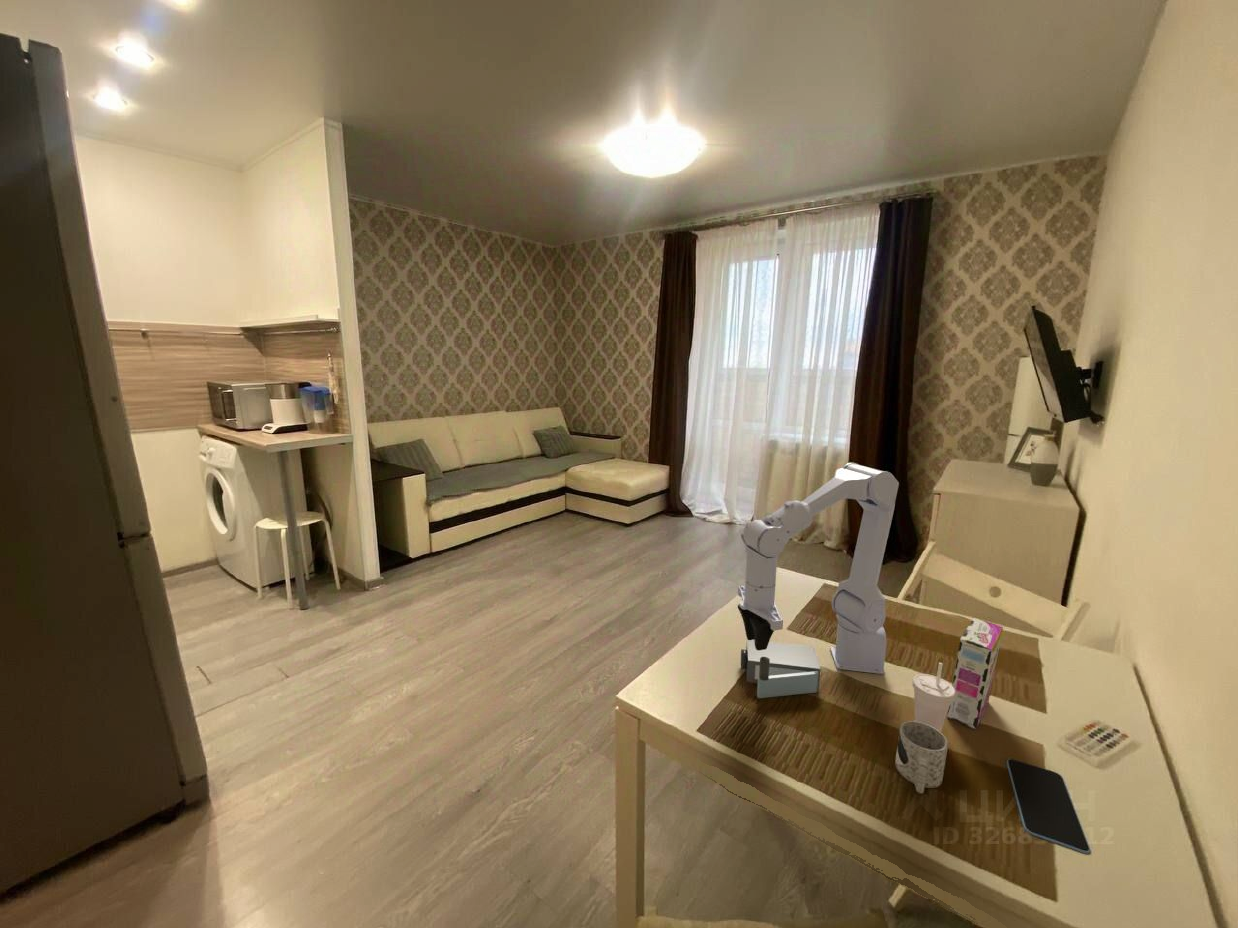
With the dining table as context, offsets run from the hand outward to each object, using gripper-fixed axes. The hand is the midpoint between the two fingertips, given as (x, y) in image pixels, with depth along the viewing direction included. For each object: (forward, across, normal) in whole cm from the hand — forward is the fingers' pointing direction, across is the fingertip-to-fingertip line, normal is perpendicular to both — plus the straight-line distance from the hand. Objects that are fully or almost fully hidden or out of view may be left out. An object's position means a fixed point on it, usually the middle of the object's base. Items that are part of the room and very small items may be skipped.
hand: (756, 643), depth 100 cm
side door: (+9, +4, +5) cm, 11 cm away
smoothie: (+10, +19, +24) cm, 32 cm away
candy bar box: (+10, +16, +36) cm, 41 cm away
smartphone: (+10, +35, +30) cm, 47 cm away
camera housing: (+9, -2, +7) cm, 12 cm away
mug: (+10, +27, +15) cm, 32 cm away
